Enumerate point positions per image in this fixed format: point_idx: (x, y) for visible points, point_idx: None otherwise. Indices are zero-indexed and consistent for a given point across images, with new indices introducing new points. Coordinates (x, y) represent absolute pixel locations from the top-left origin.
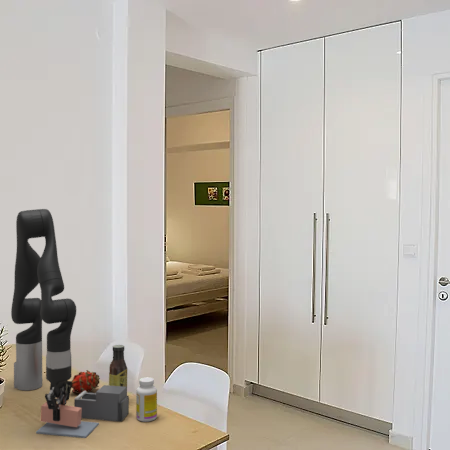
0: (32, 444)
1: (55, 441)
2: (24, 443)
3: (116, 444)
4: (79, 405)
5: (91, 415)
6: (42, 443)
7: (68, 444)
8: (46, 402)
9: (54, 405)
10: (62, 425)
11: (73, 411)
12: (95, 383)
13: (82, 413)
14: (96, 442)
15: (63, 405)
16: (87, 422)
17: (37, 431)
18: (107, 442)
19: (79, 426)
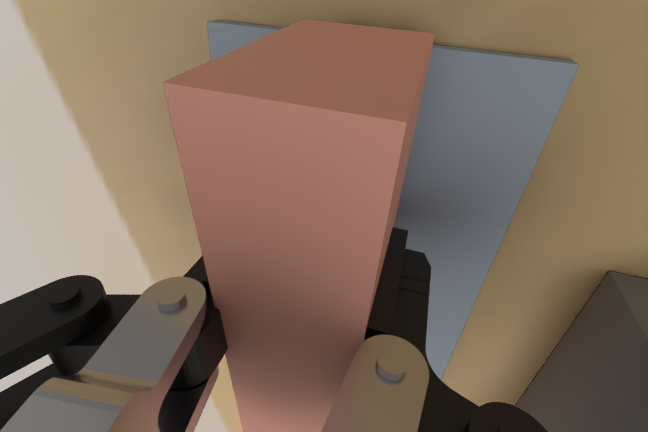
0: (65, 80)
1: (162, 214)
2: (42, 4)
3: (230, 423)
4: (629, 424)
5: (543, 401)
6: (108, 144)
7: (161, 280)
8: (375, 142)
9: (5, 402)
10: None
11: (245, 428)
12: None
13: (582, 363)
14: (222, 375)
15: (330, 389)
16: (433, 364)
17: (210, 37)
18: (235, 404)
19: None
